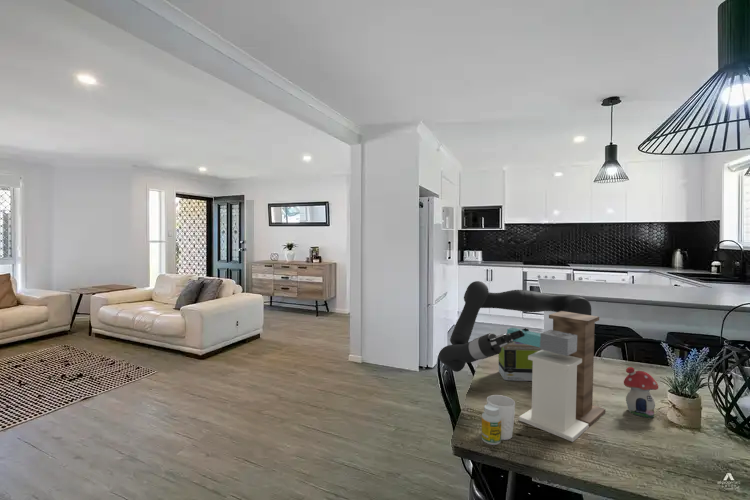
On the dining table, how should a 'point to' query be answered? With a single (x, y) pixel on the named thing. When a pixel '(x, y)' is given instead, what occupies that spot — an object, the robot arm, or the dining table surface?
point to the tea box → (516, 361)
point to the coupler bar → (549, 340)
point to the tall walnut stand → (585, 351)
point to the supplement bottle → (491, 425)
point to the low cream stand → (554, 395)
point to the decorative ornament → (640, 393)
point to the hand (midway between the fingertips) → (525, 331)
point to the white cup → (504, 413)
